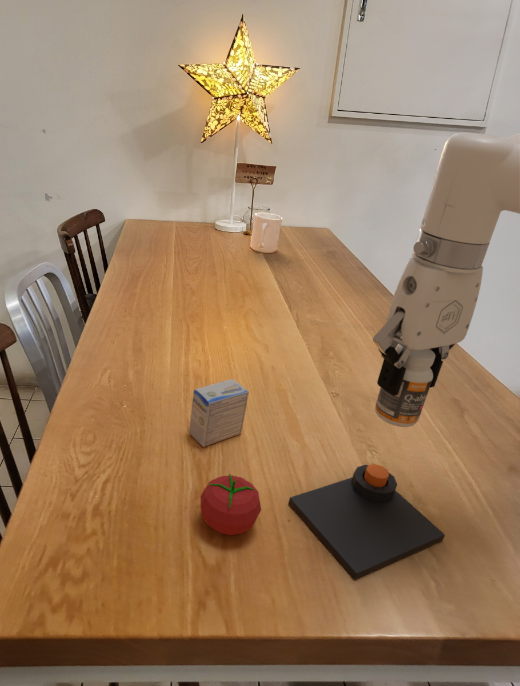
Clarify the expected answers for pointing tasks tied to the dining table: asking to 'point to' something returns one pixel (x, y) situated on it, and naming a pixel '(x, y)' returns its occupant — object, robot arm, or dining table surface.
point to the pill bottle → (408, 391)
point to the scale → (365, 523)
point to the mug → (265, 232)
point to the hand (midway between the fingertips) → (405, 384)
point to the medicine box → (218, 412)
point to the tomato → (230, 505)
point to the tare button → (376, 475)
